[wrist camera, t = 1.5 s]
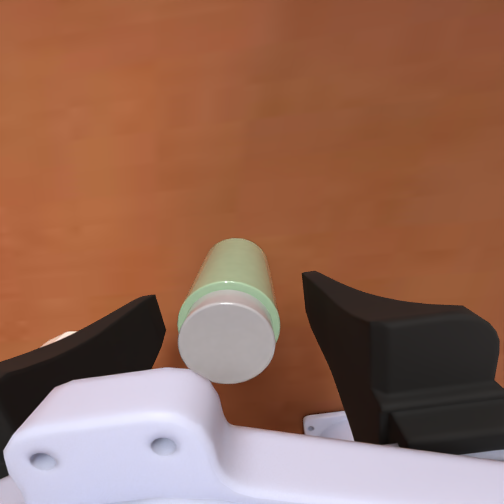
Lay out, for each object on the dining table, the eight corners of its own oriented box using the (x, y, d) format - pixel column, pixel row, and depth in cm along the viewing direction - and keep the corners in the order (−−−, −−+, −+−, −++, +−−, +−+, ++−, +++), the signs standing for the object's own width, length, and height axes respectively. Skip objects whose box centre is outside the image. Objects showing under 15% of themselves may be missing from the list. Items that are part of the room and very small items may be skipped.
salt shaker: (272, 293, 17) (289, 383, 10) (211, 302, 17) (183, 397, 10) (264, 233, 16) (276, 286, 9) (197, 243, 16) (155, 304, 9)
